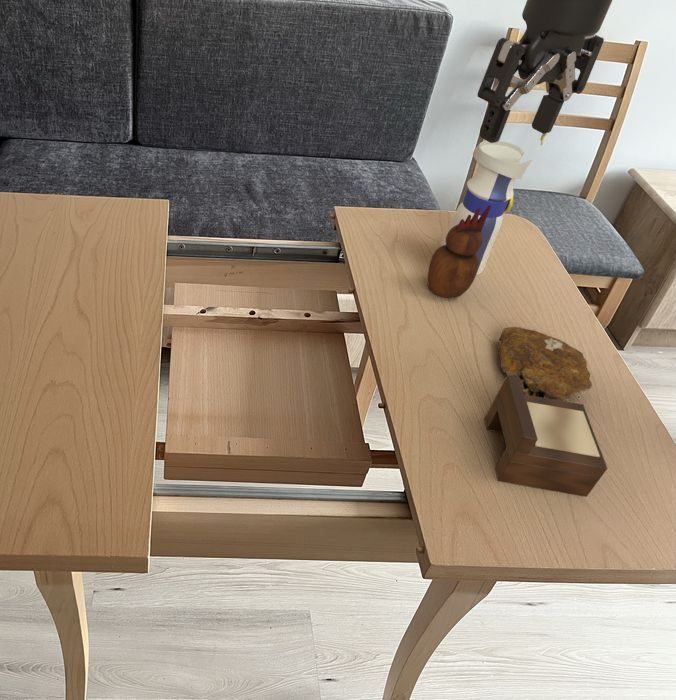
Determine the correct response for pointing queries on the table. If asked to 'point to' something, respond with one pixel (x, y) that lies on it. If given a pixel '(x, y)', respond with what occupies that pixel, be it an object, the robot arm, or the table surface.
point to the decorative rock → (543, 364)
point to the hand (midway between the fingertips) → (514, 135)
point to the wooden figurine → (457, 258)
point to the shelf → (544, 441)
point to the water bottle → (491, 190)
